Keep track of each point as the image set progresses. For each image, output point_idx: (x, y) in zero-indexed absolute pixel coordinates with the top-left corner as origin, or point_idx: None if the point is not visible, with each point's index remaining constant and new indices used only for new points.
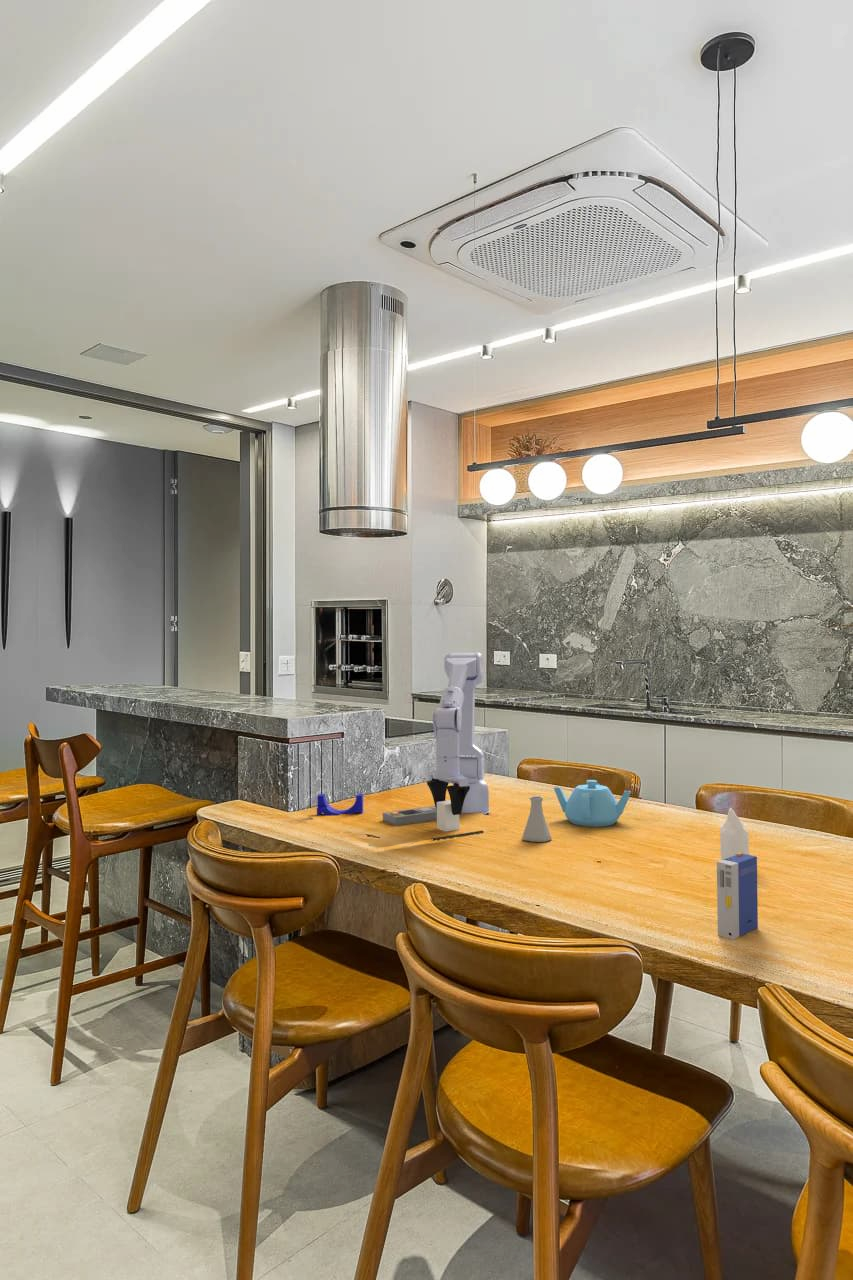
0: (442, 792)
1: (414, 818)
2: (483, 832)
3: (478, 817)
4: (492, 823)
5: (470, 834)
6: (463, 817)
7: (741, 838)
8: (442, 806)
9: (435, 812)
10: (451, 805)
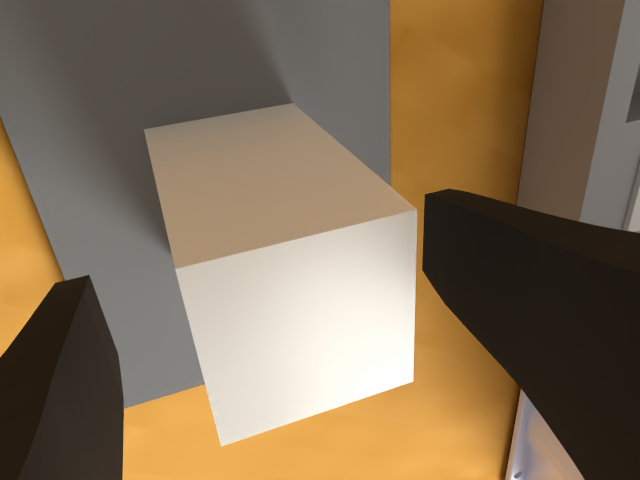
0: (548, 372)
1: (594, 12)
2: None
3: (486, 431)
4: (338, 472)
5: None
6: None
7: None
8: (251, 228)
9: None
10: (55, 335)
